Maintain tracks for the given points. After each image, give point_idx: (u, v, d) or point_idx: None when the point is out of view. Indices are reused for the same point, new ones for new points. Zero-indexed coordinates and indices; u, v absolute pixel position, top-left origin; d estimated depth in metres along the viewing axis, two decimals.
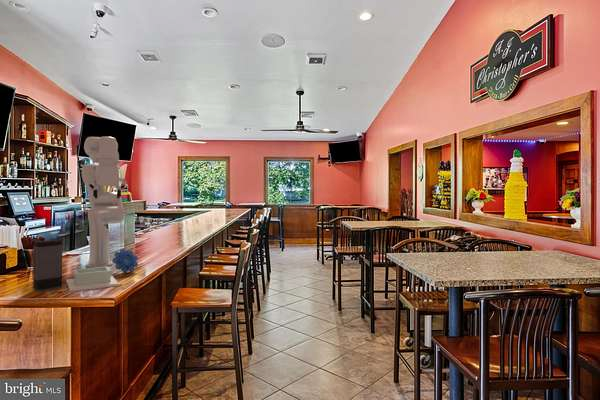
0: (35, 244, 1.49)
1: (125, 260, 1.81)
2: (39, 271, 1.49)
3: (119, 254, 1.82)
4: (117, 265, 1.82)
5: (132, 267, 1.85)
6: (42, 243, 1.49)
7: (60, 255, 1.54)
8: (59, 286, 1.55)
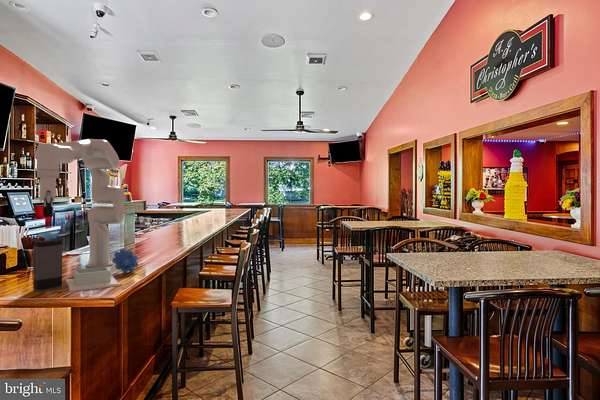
0: (35, 244, 1.49)
1: (125, 260, 1.81)
2: (39, 271, 1.49)
3: (119, 254, 1.82)
4: (117, 265, 1.82)
5: (132, 267, 1.85)
6: (42, 243, 1.49)
7: (60, 255, 1.54)
8: (59, 286, 1.55)
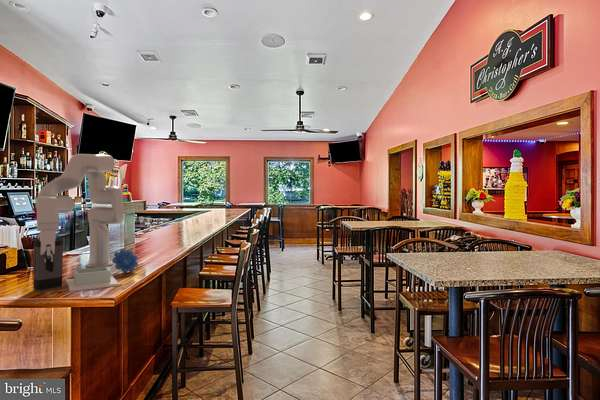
0: (35, 244, 1.49)
1: (125, 260, 1.81)
2: (39, 271, 1.49)
3: (119, 254, 1.82)
4: (117, 265, 1.82)
5: (132, 267, 1.85)
6: None
7: (60, 255, 1.54)
8: (59, 286, 1.54)
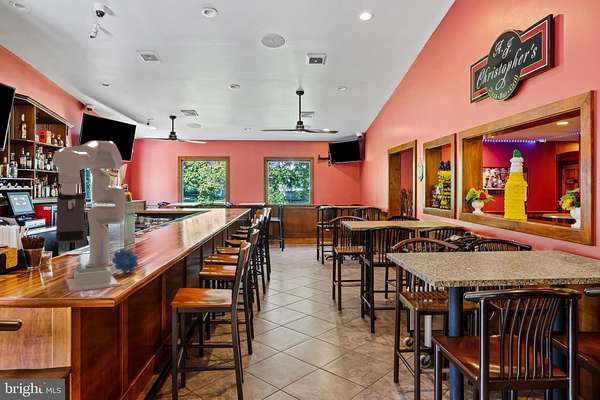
0: (58, 196, 1.52)
1: (125, 260, 1.81)
2: (61, 223, 1.52)
3: (119, 254, 1.82)
4: (117, 265, 1.82)
5: (132, 267, 1.85)
6: (64, 196, 1.51)
7: (82, 209, 1.56)
8: (80, 239, 1.57)
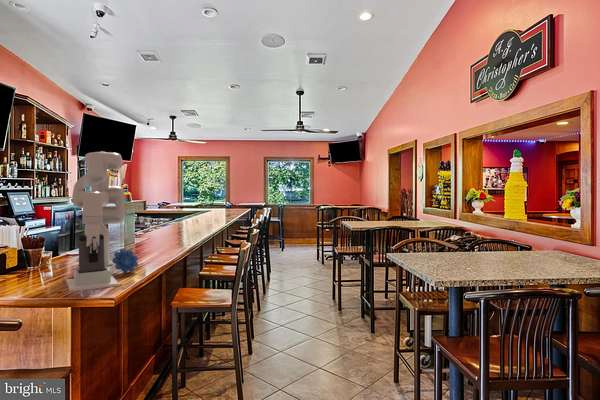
0: (79, 238, 1.59)
1: (125, 260, 1.81)
2: (82, 264, 1.58)
3: (119, 254, 1.82)
4: (117, 265, 1.82)
5: (132, 267, 1.85)
6: (84, 237, 1.58)
7: (101, 249, 1.63)
8: None
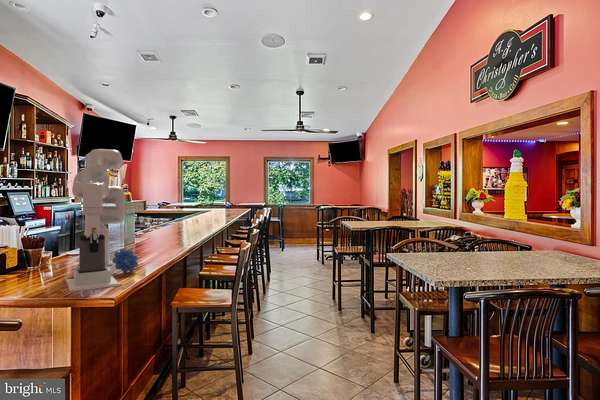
0: (80, 238, 1.60)
1: (125, 260, 1.81)
2: (82, 263, 1.58)
3: (119, 254, 1.82)
4: (117, 265, 1.82)
5: (132, 267, 1.85)
6: (85, 237, 1.59)
7: (102, 249, 1.63)
8: None
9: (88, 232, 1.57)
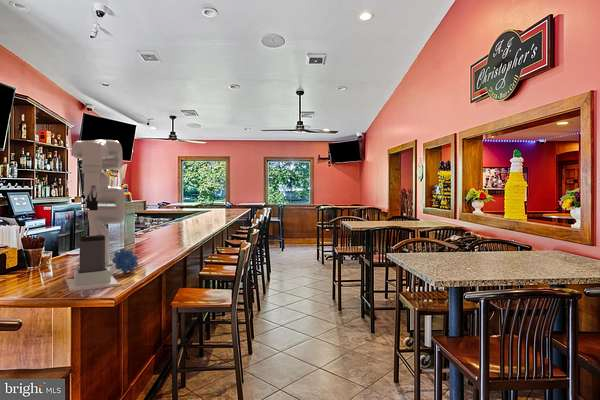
0: (80, 239, 1.59)
1: (125, 260, 1.81)
2: (82, 264, 1.58)
3: (119, 254, 1.82)
4: (117, 265, 1.82)
5: (132, 267, 1.85)
6: (85, 238, 1.58)
7: (102, 250, 1.62)
8: None
9: (87, 190, 1.57)
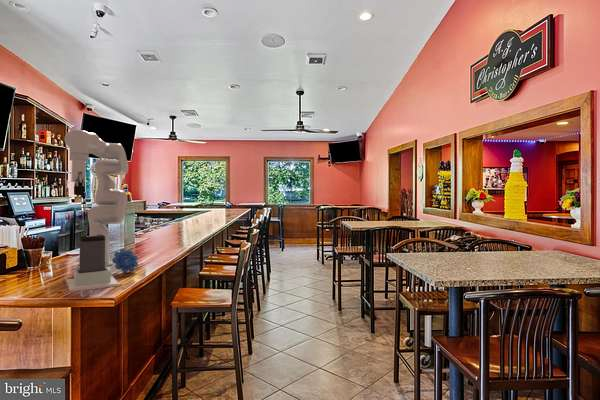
0: (80, 239, 1.59)
1: (125, 260, 1.81)
2: (82, 264, 1.58)
3: (119, 254, 1.82)
4: (117, 265, 1.82)
5: (132, 267, 1.85)
6: (85, 238, 1.58)
7: (102, 250, 1.62)
8: None
9: (74, 176, 1.65)
